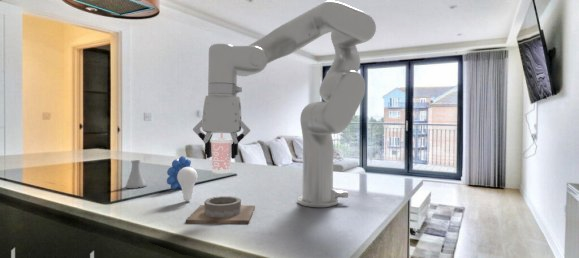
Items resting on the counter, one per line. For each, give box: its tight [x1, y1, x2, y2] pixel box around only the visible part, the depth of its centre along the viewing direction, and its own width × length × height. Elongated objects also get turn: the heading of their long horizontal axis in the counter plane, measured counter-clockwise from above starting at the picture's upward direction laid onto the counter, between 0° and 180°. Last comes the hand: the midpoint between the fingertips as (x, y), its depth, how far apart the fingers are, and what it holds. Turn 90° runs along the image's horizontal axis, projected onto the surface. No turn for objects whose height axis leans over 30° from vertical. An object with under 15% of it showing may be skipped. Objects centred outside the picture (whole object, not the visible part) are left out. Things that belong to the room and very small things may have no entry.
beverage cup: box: [210, 133, 233, 175], centre depth 92 cm, size 6×6×14 cm
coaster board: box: [185, 195, 256, 224], centre depth 93 cm, size 16×14×4 cm
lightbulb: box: [177, 166, 198, 202], centre depth 107 cm, size 6×6×11 cm
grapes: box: [166, 156, 193, 191], centre depth 125 cm, size 12×7×12 cm, turn 151°
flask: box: [125, 159, 147, 189], centre depth 128 cm, size 7×7×10 cm
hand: (221, 157), depth 92 cm, fingers closed on beverage cup, 6 cm apart
